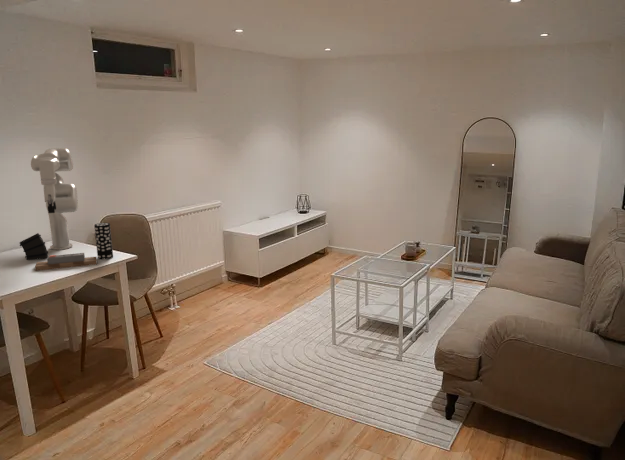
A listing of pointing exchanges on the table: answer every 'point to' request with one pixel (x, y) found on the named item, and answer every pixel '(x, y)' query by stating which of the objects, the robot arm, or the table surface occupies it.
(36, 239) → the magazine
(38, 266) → the rail
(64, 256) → the grey control box
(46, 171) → the robot arm
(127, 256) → the table surface
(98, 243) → the spotted tube
